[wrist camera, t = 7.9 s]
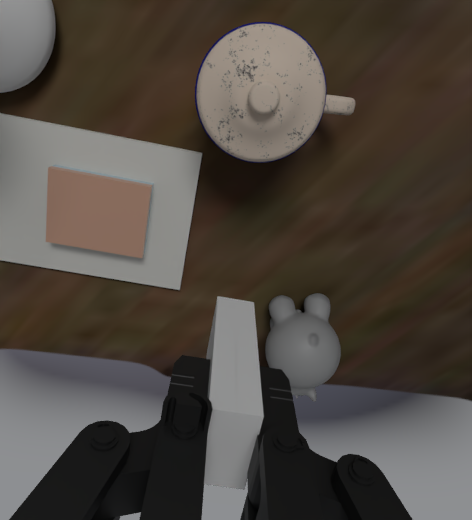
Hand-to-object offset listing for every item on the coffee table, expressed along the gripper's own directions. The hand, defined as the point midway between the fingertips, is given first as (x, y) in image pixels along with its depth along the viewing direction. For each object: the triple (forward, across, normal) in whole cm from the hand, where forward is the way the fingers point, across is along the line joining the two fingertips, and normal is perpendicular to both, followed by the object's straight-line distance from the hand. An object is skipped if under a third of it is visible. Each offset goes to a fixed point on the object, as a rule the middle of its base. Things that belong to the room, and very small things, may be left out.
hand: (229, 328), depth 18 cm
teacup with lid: (+25, -2, -9) cm, 27 cm away
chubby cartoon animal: (+25, -10, +14) cm, 31 cm away
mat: (+25, +12, +4) cm, 28 cm away
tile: (+23, +7, +4) cm, 25 cm away
